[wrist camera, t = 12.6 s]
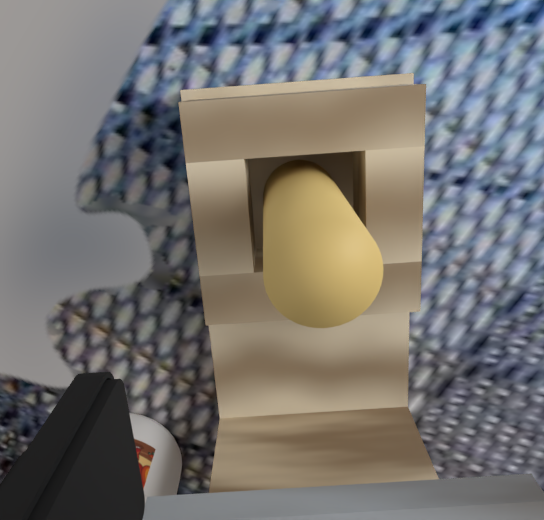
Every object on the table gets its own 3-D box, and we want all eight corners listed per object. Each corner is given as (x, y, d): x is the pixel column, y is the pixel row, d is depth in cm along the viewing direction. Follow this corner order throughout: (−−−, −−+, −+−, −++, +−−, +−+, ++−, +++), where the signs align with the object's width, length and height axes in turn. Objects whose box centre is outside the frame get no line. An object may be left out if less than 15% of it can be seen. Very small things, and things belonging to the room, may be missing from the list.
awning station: (407, 413, 36) (524, 694, 19) (217, 425, 36) (175, 712, 19) (413, 73, 28) (606, 59, 12) (177, 90, 29) (56, 100, 12)
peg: (336, 229, 29) (382, 324, 18) (265, 233, 29) (266, 331, 18) (335, 157, 28) (384, 211, 17) (260, 162, 28) (259, 219, 17)
